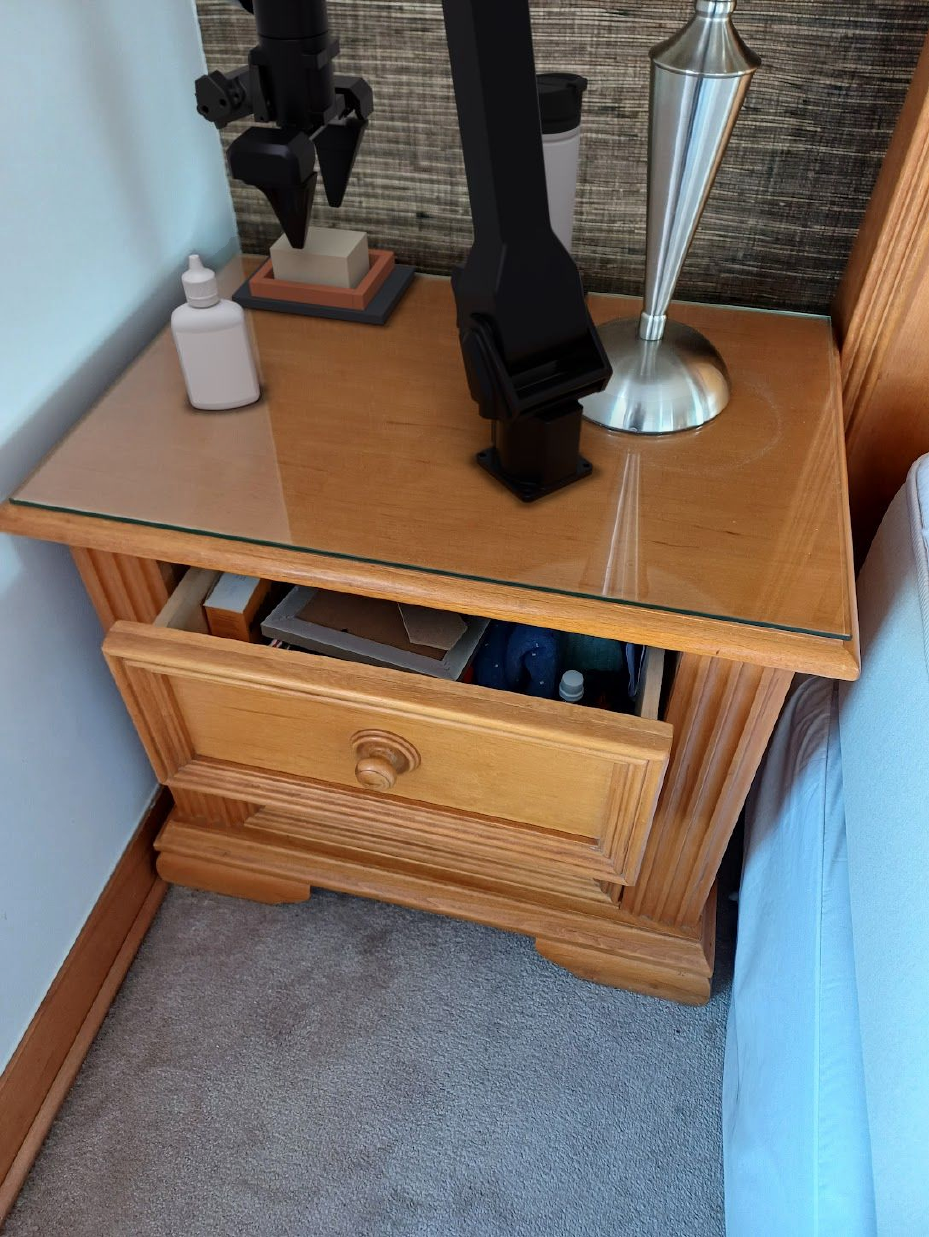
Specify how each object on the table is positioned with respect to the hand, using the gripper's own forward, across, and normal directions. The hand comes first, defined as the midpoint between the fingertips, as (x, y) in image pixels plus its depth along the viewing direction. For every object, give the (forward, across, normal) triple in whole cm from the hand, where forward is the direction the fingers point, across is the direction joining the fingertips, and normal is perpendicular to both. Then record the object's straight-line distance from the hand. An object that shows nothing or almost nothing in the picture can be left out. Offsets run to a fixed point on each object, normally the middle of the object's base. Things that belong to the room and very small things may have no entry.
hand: (317, 227), depth 83 cm
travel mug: (+6, 0, +21) cm, 22 cm away
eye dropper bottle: (+6, +20, -1) cm, 21 cm away
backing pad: (+6, 0, 0) cm, 6 cm away
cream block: (+5, 0, 0) cm, 5 cm away
